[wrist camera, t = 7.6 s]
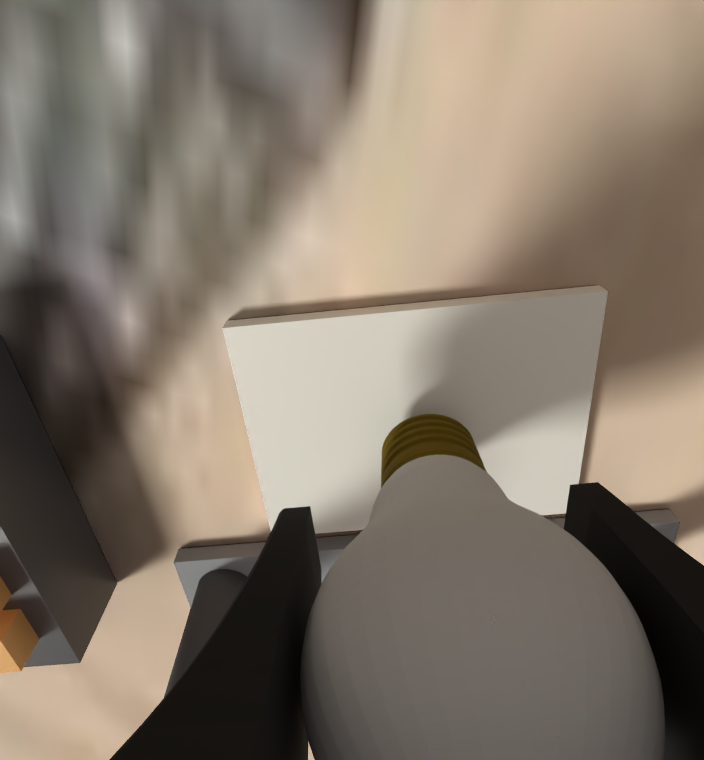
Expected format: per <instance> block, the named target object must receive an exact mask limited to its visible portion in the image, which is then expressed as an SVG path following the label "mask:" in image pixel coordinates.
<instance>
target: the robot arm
mask: <svg viewBox="0 0 704 760" xmlns="http://www.w3.org/2000/svg"><path fill="white" fill-rule="evenodd" d="M564 530H565V531H567V532H568V533H570V534H571V535H572V536H573V537H575V538H576V539H577V540H578V541H579V542H580V543H582V544H583V545H584V546H585V547H586V548H587V549H588V550H589V551H590V552H591V553H592V554H593V555H594V556H595V557H596V558H597V559H598V560H599V561H600V562H601V563H602V564H603V565H604V566H605V567H606V569H607V570H608V571H609V572H610V573H611V575H612V576H613V578H614V579H615V581H616V582H617V583H618V585H619V586H620V588H621V589H622V591H623V592H624V593H625V595H626V596H627V598H628V599H629V601H630V603H631V604H632V606H633V608H634V609H635V611H636V613H637V615H638V617H639V619H640V621H641V623H642V625H643V628H644V631H645V633H646V636H647V638H648V641H649V644H650V646H651V649H652V652H653V655H654V658H655V661H656V664H657V668H658V671H659V676H660V680H661V685H662V692H663V700H664V713H665V752H664V759H663V760H704V566H703V565H702V564H701V563H699V562H698V561H697V560H695V559H694V558H692V557H691V556H690V555H688V554H687V553H686V552H684V551H683V550H682V549H681V548H679V547H678V546H677V545H675V544H674V543H673V542H671V541H670V540H669V539H668V538H666V537H665V536H664V535H662V534H661V533H660V532H659V531H657V530H656V529H655V528H654V527H652V526H651V525H650V524H649V523H647V522H646V521H645V520H644V519H642V518H641V517H640V516H639V515H638V514H636V513H635V512H634V511H633V510H631V509H630V508H629V507H628V506H626V505H625V504H624V503H623V502H622V501H620V500H619V499H618V498H617V497H615V496H614V495H613V494H612V493H611V492H609V491H608V490H607V489H606V488H604V487H603V486H602V485H601V484H599V483H598V482H597V483H585V484H573V485H570V489H569V495H568V502H567V509H566V516H565V523H564ZM320 587H321V564H320V558H319V553H318V547H317V541H316V536H315V530H314V525H313V519H312V514H311V508H310V506H307V507H295V508H284V509H283V510H282V511H281V512H280V513H279V515H278V517H277V520H276V522H275V524H274V526H273V529H272V531H271V533H270V535H269V537H268V539H267V541H266V543H265V545H264V547H263V549H262V551H261V553H260V555H259V557H258V559H257V561H256V563H255V564H254V566H253V568H252V570H251V572H250V573H249V575H248V577H247V579H246V581H245V582H244V584H243V586H242V588H241V589H240V591H239V593H238V594H237V596H236V598H235V599H234V601H233V602H232V604H231V606H230V607H229V609H228V610H227V612H226V613H225V615H224V617H223V618H222V620H221V621H220V623H219V625H218V626H217V628H216V629H215V631H214V632H213V633H212V635H211V636H210V638H209V639H208V641H207V642H206V644H205V645H204V646H203V648H202V649H201V651H200V652H199V653H198V655H197V656H196V658H195V659H194V660H193V662H192V663H191V664H190V666H189V667H188V668H187V670H186V671H185V672H184V674H183V675H182V676H181V677H180V679H179V680H178V681H177V682H176V684H175V685H174V686H173V687H172V689H171V690H170V691H169V692H168V694H167V695H166V696H165V697H164V699H163V700H162V701H161V702H160V704H159V705H158V706H157V707H156V708H155V710H154V711H153V712H152V713H151V714H150V716H149V717H148V718H147V719H146V720H145V721H144V722H143V724H142V725H141V726H140V727H139V728H138V729H137V730H136V731H135V732H134V734H133V735H132V736H131V737H130V738H129V739H128V740H127V741H126V742H125V743H124V744H123V746H122V747H121V748H120V749H119V750H118V751H117V752H116V753H115V754H114V755H113V756H112V758H111V759H110V760H308V736H307V732H306V728H305V722H304V716H303V706H302V695H301V682H300V668H301V655H302V648H303V642H304V636H305V631H306V626H307V622H308V617H309V614H310V611H311V608H312V605H313V603H314V601H315V598H316V596H317V594H318V591H319V589H320Z"/></svg>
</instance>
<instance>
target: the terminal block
mask: <svg viewBox="0 0 704 760" xmlns="http://www.w3.org/2000/svg"><path fill="white" fill-rule="evenodd" d="M116 585H117V583H116V581H115V579H114V576H113V574H112V572H111V570H110V568H109V566H108V564H107V561H106V559H105V557H104V555H103V553H102V551H101V549H100V547H99V544H98V542H97V540H96V538H95V536H94V534H93V532H92V529H91V527H90V525H89V523H88V521H87V519H86V517H85V514H84V512H83V510H82V508H81V506H80V504H79V502H78V500H77V497H76V495H75V493H74V491H73V489H72V487H71V485H70V482H69V480H68V478H67V476H66V474H65V472H64V470H63V467H62V465H61V463H60V461H59V459H58V457H57V455H56V453H55V450H54V448H53V446H52V444H51V442H50V440H49V438H48V435H47V433H46V431H45V429H44V427H43V425H42V423H41V420H40V418H39V416H38V414H37V412H36V410H35V408H34V406H33V403H32V401H31V399H30V397H29V395H28V393H27V391H26V388H25V386H24V384H23V382H22V380H21V378H20V376H19V373H18V371H17V369H16V367H15V365H14V363H13V361H12V359H11V356H10V354H9V352H8V350H7V348H6V346H5V344H4V341H3V339H2V337H1V336H0V673H5V672H18V671H22V669H23V667H31V666H44V665H58V664H71V663H80V662H81V660H82V658H83V656H84V653H85V651H86V649H87V647H88V645H89V643H90V641H91V638H92V636H93V634H94V632H95V630H96V628H97V626H98V623H99V621H100V619H101V617H102V615H103V613H104V611H105V608H106V606H107V604H108V602H109V600H110V598H111V596H112V593H113V591H114V589H115V587H116Z"/></svg>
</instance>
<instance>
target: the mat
mask: <svg viewBox="0 0 704 760" xmlns="http://www.w3.org/2000/svg"><path fill="white" fill-rule="evenodd" d="M607 296H608V291H607V290H606V289H604V288H603V287H602V286H600V285H596V286H585V287H575V288H564V289H554V290H544V291H533V292H523V293H512V294H502V295H491V296H481V297H470V298H460V299H449V300H439V301H429V302H418V303H408V304H397V305H387V306H376V307H366V308H355V309H345V310H334V311H324V312H314V313H303V314H293V315H282V316H272V317H261V318H251V319H240V320H230V321H226V323H225V324H224V326H223V332H224V336H225V340H226V345H227V349H228V353H229V357H230V362H231V366H232V370H233V374H234V378H235V383H236V387H237V391H238V395H239V400H240V404H241V408H242V412H243V417H244V421H245V425H246V429H247V433H248V438H249V442H250V446H251V450H252V455H253V459H254V463H255V467H256V471H257V476H258V480H259V484H260V488H261V493H262V497H263V501H264V505H265V510H266V514H267V518H268V522H269V526H270V531H272V529H273V526H274V524H275V522H276V520H277V517H278V515H279V513H280V512H281V511H282V510H283V509H284V508H295V507H307V506H310V508H311V514H312V519H313V525H314V530H315V534H319V533H331V532H343V531H356V530H363V529H364V528H365V527H366V526H367V525H368V523H369V520H370V516H371V512H372V508H373V505H374V502H375V500H376V498H377V496H378V493H379V491H380V489H381V459H382V447H383V443H384V441H385V439H386V437H387V435H388V434H389V432H390V431H391V430H392V429H393V428H394V427H395V426H397V425H398V424H399V423H401V422H403V421H404V420H406V419H408V418H411V417H414V416H418V415H423V414H439V415H444V416H447V417H450V418H453V419H455V420H457V421H458V422H460V423H461V424H462V425H463V426H464V427H466V428H467V430H468V431H469V432H470V434H471V436H472V438H473V441H474V443H475V445H476V448H477V450H478V452H479V455H480V457H481V459H482V461H483V465H484V467H485V469H486V471H487V473H488V474H489V475H490V476H491V477H492V478H493V479H494V480H495V481H496V483H497V484H498V485H499V486H500V488H501V489H502V490H503V492H504V493H505V495H506V497H507V498H508V499H509V500H510V501H512V502H514V503H516V504H517V505H519V506H522V507H524V508H526V509H528V510H531V511H533V512H535V513H537V514H539V515H552V514H565V513H566V509H567V502H568V495H569V489H570V485H573V484H579V478H580V472H581V465H582V459H583V452H584V446H585V439H586V433H587V426H588V420H589V413H590V407H591V400H592V394H593V387H594V381H595V374H596V368H597V361H598V355H599V348H600V342H601V335H602V329H603V322H604V316H605V309H606V303H607Z"/></svg>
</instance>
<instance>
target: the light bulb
mask: <svg viewBox="0 0 704 760" xmlns="http://www.w3.org/2000/svg"><path fill="white" fill-rule="evenodd" d="M300 682H301V695H302V706H303V716H304V722H305V728H306V732H307V736H308V740H309V744H310V747H311V750H312V753H313V756H314V759H315V760H663V759H664V752H665V713H664V700H663V692H662V685H661V680H660V676H659V671H658V668H657V664H656V661H655V658H654V655H653V652H652V649H651V646H650V644H649V641H648V638H647V636H646V633H645V631H644V628H643V625H642V623H641V621H640V619H639V617H638V615H637V613H636V611H635V609H634V608H633V606H632V604H631V603H630V601H629V599H628V598H627V596H626V595H625V593H624V592H623V591H622V589H621V588H620V586H619V585H618V583H617V582H616V581H615V579H614V578H613V576H612V575H611V573H610V572H609V571H608V570H607V569H606V567H605V566H604V565H603V564H602V563H601V562H600V561H599V560H598V559H597V558H596V557H595V556H594V555H593V554H592V553H591V552H590V551H589V550H588V549H587V548H586V547H585V546H584V545H583V544H582V543H580V542H579V541H578V540H577V539H576V538H575V537H573V536H572V535H571V534H570V533H568V532H567V531H565V530H564V529H562V528H561V527H559V526H558V525H556V524H555V523H553V522H551V521H550V520H548V519H547V518H545V517H543V516H541V515H539V514H537V513H535V512H533V511H531V510H528V509H526V508H524V507H522V506H519V505H517V504H516V503H514V502H512V501H510V500H509V499H508V498H507V497H506V495H505V493H504V492H503V490H502V489H501V488H500V486H499V485H498V484H497V483H496V481H495V480H494V479H493V478H492V477H491V476H490V475H489V474H488V473H487V471H486V469H485V467H484V465H483V461H482V459H481V457H480V455H479V452H478V450H477V448H476V445H475V443H474V441H473V438H472V436H471V434H470V432H469V431H468V430H467V428H466V427H464V426H463V425H462V424H461V423H460V422H458V421H457V420H455V419H453V418H450V417H447V416H444V415H439V414H423V415H418V416H414V417H411V418H408V419H406V420H404V421H403V422H401V423H399V424H398V425H397V426H395V427H394V428H393V429H392V430H391V431H390V432H389V434H388V435H387V437H386V439H385V441H384V443H383V447H382V459H381V489H380V491H379V493H378V496H377V498H376V500H375V502H374V505H373V508H372V512H371V516H370V520H369V523H368V525H367V526H366V527H365V528H364V529H363V531H362V532H361V533H360V534H359V535H358V536H357V537H356V538H355V539H354V540H353V541H352V542H351V543H350V544H349V545H348V546H346V547H345V549H344V550H343V551H342V553H341V554H340V556H339V557H338V558H337V560H336V561H335V563H334V564H333V566H332V567H331V568H330V570H329V571H328V573H327V575H326V576H325V578H324V580H323V582H322V584H321V587H320V589H319V591H318V594H317V596H316V598H315V601H314V603H313V605H312V608H311V611H310V614H309V617H308V622H307V626H306V631H305V636H304V642H303V648H302V655H301V668H300Z"/></svg>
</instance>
